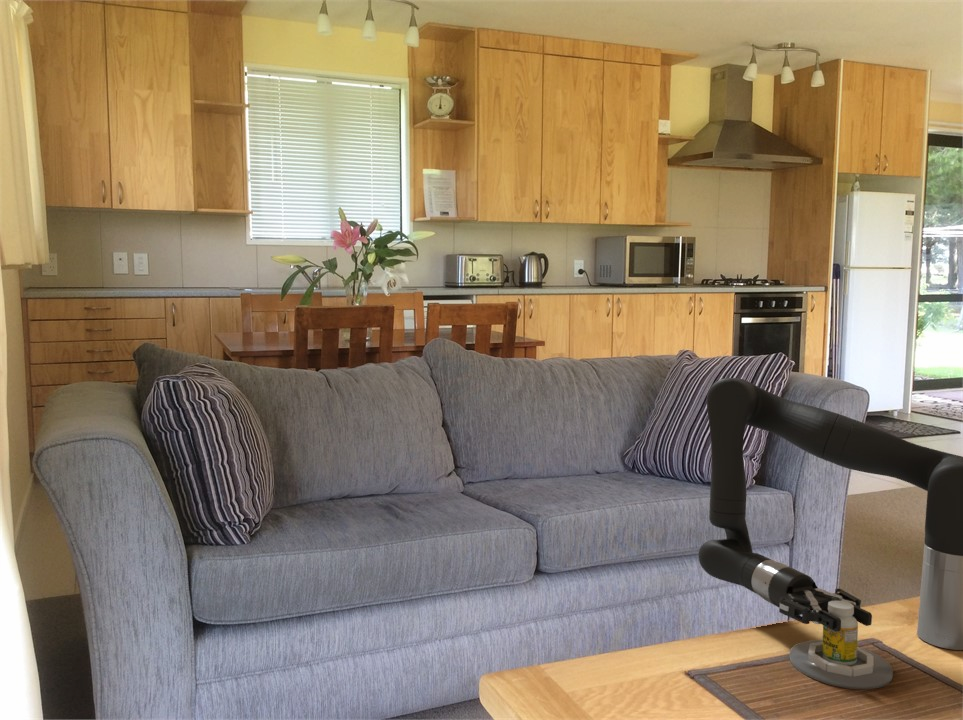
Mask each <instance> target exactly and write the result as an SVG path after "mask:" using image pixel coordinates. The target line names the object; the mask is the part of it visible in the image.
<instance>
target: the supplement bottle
mask: <svg viewBox="0 0 963 720" xmlns="http://www.w3.org/2000/svg"><path fill="white" fill-rule="evenodd" d="M828 611H829V613H830V614H832V615H834V616H836V617H838V618H840V620H841V630H840V631H837V632H835V631H833V630H831V629H829V628H828V627H826V626H824V625H822V626H823V627H822V640H823V650H822V651H823V658H824V659H825V660H826V661H828V662H830V663H835V664H840V665H846V666H851V665H854V664H855V663H856V661H857V646H858V639H859V638H858V632H859V630H858V629H859V622H858V621H857V620H856V619H855V618H854V617H853V616H852V615H853V614H854V606H853V605H852V604H850V603H848V602H844V601H830V602H828Z"/></svg>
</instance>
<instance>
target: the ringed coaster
mask: <svg viewBox="0 0 963 720" xmlns="http://www.w3.org/2000/svg"><path fill="white" fill-rule="evenodd" d="M822 650H823V639H822V640H821V639H817V640H806V641H801V642H799V643H797V644H795V645H793V646H792V647H791V648H790V650H789V660H790V661H789V662H790V664H791V665H792V666H793V667H794V668H795V669H796V670H797V671H799V672H800V673H801V674H803V675H805V676H806V677H808V678H810V679H812V680H815V681H818V682H820V683H822V684H826V685H830V686H834V687H837V688H843V689H850V690H873V689H874V690H875V689H879V688H883V687H885V686H887V685H889V684H890V683H891V682H892V680H893V675H894V670H893V668H892V665H891V664H890V662H888V661H887V660H886V659H884V658H883V657H882V656H880V655H879V654H877V653H875V652H873V651H870V649H869V650H868V649H867V648H864V647H860V646H858V645H857V661H856V663H855V664H854V665H851V666H846V665H840V664H835V663H830V662H828V661H826V660H825V659H824V658H823V651H822Z"/></svg>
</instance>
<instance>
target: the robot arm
mask: <svg viewBox="0 0 963 720" xmlns="http://www.w3.org/2000/svg"><path fill="white" fill-rule="evenodd" d="M706 408H707V418H708V425H709V431H710V432H709V435H710V447H711V451H710V453H711V455H710V456H711V462H710V463H711V467H710V469H711V472H710V473H711V474H710V493H709V514H708V515H709V517H708V518H709V522H710V524H711V525H712V526H714V527H715V528H719V529H724V533H725V536H726V538H724V539H723V538H720V539H711V540H707V541H705V542H704V543H702V545H701V546H700V548H699V550H698V562H699V564H700V566H701V568H702V570H704V572H706V573H707V575H710V576H711V577H713V578H714V579H718V580H721V581H722V582H723V581H724V582H727V583H730V584H734V585H738V586H741V587H744V588H745V589H747V590H749V591H750V592H753V593H754V594H756V595H758V596H759V597H760V598H762V599H763V600H764V601H766V602H768V603H770V604H771V605H773V606H776V607H777V608H779V610H778V612H779V613H780V614H782V615H784V616H787V617H789V618H791V619H793V620H794V621H797V622H800V623H802V624H804V625H809V624H810V622H812V623H813V624H815V625H822V626H823V625H824V626H826V627H828V628H829V629H831V630H833V631H835V632H837V631H840V630H841V620H840V618H838V617H836V616H834V615H832V614H830V613H829V611H828V602H830V601H844V602H848V603H850V604H852V605H853V606H854V614H853V615H852V616H853V617H854V618H855V619H856V620H857V622H858V624H861V625H864V626H866V627H868V626H872V621H873V615H872V613H871V612H869V611H868V610H866V609H864V608H861V604H862V600H861V599H860V598H858V597H855V596H854V595H852V594H850V593H849V592H847V591H845V590H844V589H841V588H835V590H834V592H832V593H831V592H829V591H826V590H825V589H822V588H819V587H818V586H817V584H816V582H815V580H814V579H813V577H811V576H809V575H807V574H806V573H803V572H801V571H799V570H797V569H795V568H793V567H791V566H789V565H787V564H785V563H782V562H779V561H775V560H773V559H772V558H769V557H767V556H764V555H762V554H760V553H756V552H753V549H752V548H753V547H752V543H751V538H750V533H749V530H748V529H749V528H748V524H747V520H746V514H747V477H746V470H745V469H746V468H745V463H744V439H745V438H744V437H745V430H746V427H747V426H750V427H753V428H757V429H759V430H763V431H766V432H769V433H771V434H775V435H776V436H777V437H780V438H782V439H784V440H786V441H787V442H789V443H790V444H792V445H794V446H795V447H797V448H799V449H801V450H802V451H804V452H806V453H808V454H810V455H813V456H815V457H817V458H819V459H821V460H824V461H826V462H829V463H831V464H834V465H836V466H838V467H842V468H845V469H848V470H852V471H857V472H861V473H867V474H872V475H878V476H885V477H890V478H895V479H897V480H901V481H904V482H906V483H908V484H911V485H913V486H915V487H918V488H919V489H922V490H924V491H927V495H926V506H925V507H926V508H925V521H924V542H923V543H924V544H923V554H922V555H923V557H922V570H921V581H920V592H919V593H920V594H919V603H918V605H919V606H918V617H917V618H918V619H917V628H916V629H917V630H916V635H917V636H918V638H919V639H920V640H922V641H924V642H926V643H927V644H930V645H931V646H932V645H933V646H934V647H939V648H942V649H946V650H954V651H963V456H961V455H957V454H954V453H950V452H949V453H948V452H945V451H941V450H937V449H934V448H930V447H927V446H924V445H920V444H916V443H913V442H911V441H908V440H905V439H903V438H901V437H898V436H896V435H895V434H891V433H889V432H887V431H884V430H882V429H880V428H877V427H875V426H872V425H869V424H867V423H865V422H862V421H859V420H856V419H854V418H851V417H848V416H846V415H843V414H840V413H837V412H834V411H829V410H827V409H823V408H821V407H817V406H813V405H809V404H804V403H801V402H796V401H792V400H789V399H786V398H784V397H781V396H779V395H777V394H775V393H773V392H770V391H768V390H767V389H763V388H761V387H760V386H757V385H755V384H754V383H751V382H750V381H748V380H745V379H744V378H740V377H739V378H738V377H725V378H724V377H723V378H722V379H719V380H717V381H716V382H714V383H712V385H711V386H710V387H709V389H708V391H707V394H706Z"/></svg>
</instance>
